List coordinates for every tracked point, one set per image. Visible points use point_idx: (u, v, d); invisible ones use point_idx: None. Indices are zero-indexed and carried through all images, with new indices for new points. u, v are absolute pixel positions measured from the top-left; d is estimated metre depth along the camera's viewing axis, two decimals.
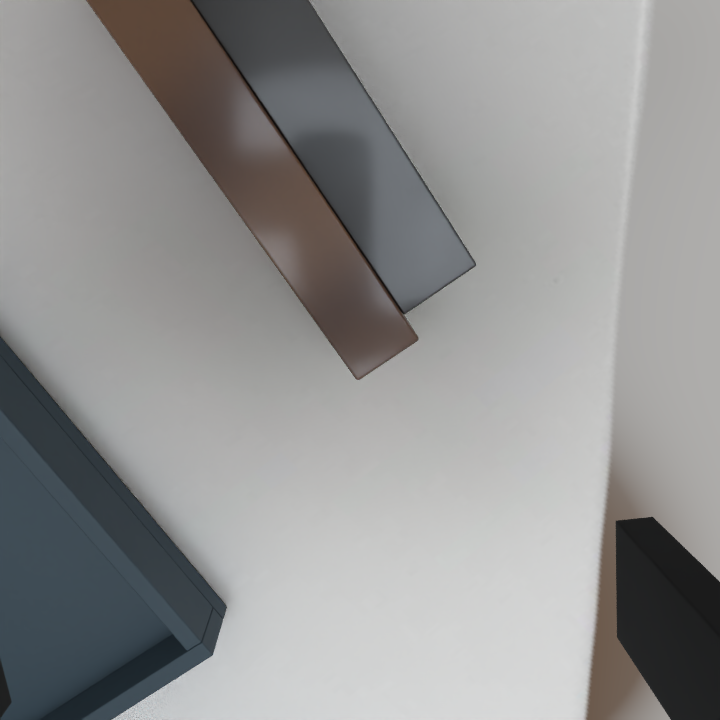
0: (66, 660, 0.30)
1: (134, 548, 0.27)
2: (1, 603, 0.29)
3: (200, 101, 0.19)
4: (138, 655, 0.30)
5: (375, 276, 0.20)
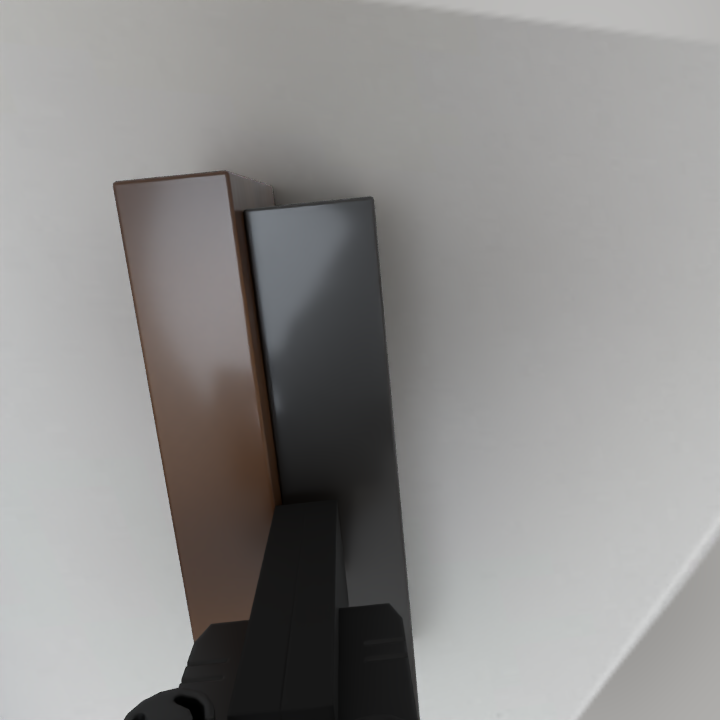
0: None
1: None
2: None
3: (217, 528, 0.15)
4: None
5: None
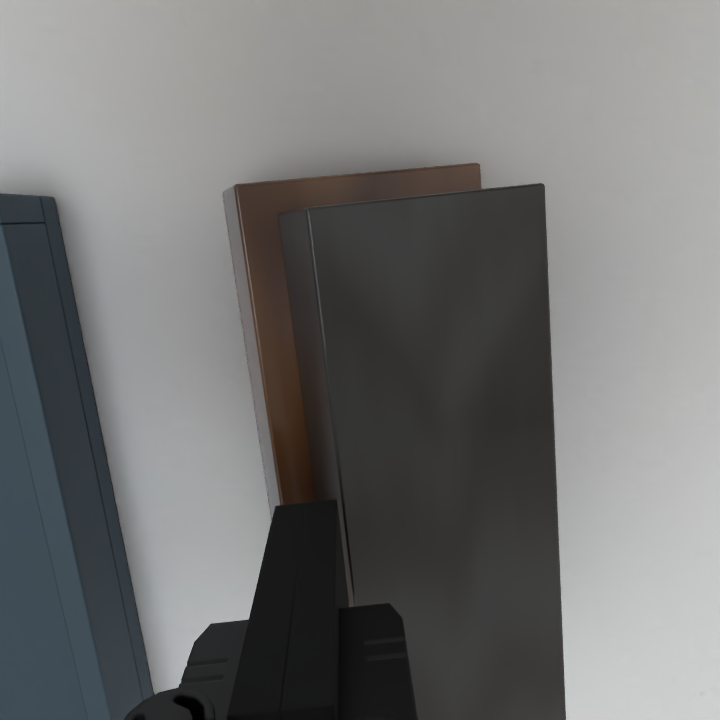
0: None
1: None
2: None
3: (267, 467, 0.19)
4: None
5: None
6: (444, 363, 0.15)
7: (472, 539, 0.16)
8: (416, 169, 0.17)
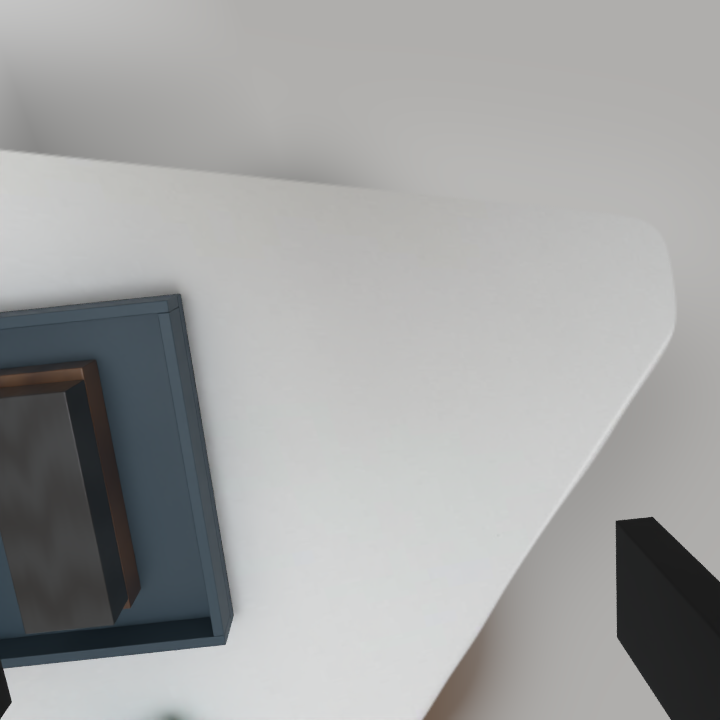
0: None
1: (216, 570, 0.46)
2: None
3: None
4: (173, 620, 0.49)
5: None
6: (29, 456, 0.40)
7: (51, 525, 0.41)
8: (52, 370, 0.41)
